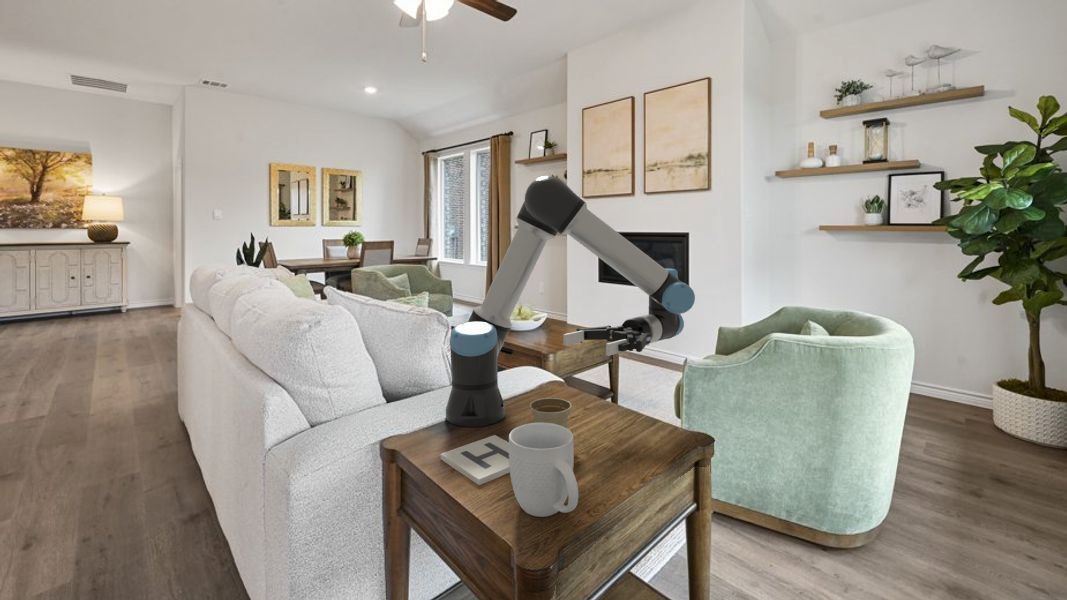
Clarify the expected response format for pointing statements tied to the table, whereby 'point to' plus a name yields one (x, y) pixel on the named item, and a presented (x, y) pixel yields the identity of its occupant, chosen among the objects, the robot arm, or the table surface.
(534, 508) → the mug
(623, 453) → the table surface
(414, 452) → the table surface
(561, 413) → the flower pot
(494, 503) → the table surface
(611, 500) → the table surface
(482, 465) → the letter board
